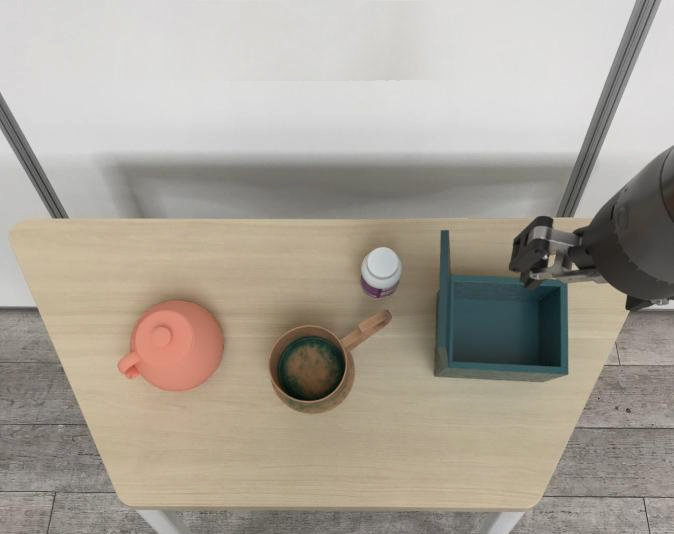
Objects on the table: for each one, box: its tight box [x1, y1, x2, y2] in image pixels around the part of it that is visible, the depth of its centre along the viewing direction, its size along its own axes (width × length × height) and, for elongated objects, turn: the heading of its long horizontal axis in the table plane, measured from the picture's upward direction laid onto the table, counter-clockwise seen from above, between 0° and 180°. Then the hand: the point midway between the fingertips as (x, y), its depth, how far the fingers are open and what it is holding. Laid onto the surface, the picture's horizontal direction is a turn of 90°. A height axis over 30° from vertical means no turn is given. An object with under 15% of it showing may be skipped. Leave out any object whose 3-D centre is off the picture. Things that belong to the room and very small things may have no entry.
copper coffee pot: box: [267, 308, 393, 415], centre depth 79 cm, size 12×18×12 cm, turn 121°
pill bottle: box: [359, 246, 403, 301], centre depth 81 cm, size 5×5×10 cm
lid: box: [438, 229, 452, 368], centre depth 67 cm, size 16×12×1 cm
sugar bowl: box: [116, 300, 224, 393], centre depth 80 cm, size 12×14×10 cm
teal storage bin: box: [433, 273, 569, 383], centre depth 80 cm, size 15×12×10 cm
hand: (579, 289), depth 52 cm, fingers open, 8 cm apart
